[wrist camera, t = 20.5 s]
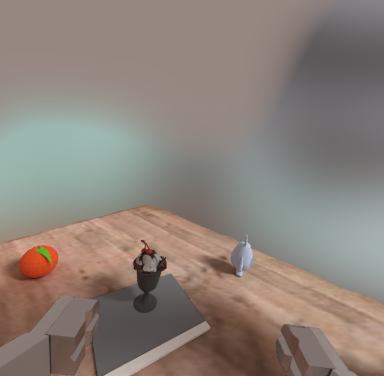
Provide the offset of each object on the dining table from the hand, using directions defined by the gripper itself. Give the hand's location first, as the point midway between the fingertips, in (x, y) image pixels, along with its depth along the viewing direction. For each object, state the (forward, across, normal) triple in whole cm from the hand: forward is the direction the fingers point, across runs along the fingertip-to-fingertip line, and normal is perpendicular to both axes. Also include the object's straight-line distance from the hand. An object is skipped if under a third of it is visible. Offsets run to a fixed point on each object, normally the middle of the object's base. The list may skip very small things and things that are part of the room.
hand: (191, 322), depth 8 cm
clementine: (+31, +31, +28) cm, 52 cm away
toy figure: (+42, -18, +28) cm, 54 cm away
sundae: (+27, +6, +28) cm, 39 cm away
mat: (+25, +5, +28) cm, 38 cm away
